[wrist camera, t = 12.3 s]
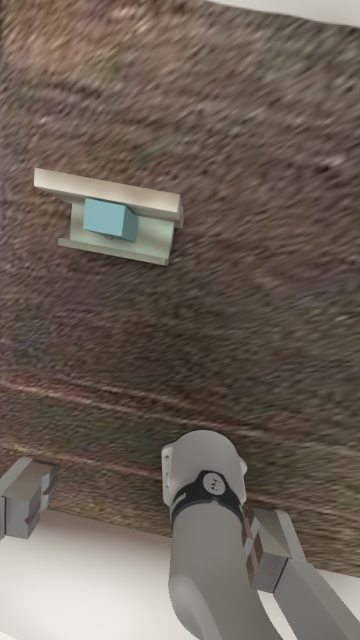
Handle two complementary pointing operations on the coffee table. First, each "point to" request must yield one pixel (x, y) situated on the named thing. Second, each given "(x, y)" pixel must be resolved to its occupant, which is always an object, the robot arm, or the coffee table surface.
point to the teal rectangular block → (110, 220)
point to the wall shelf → (148, 205)
